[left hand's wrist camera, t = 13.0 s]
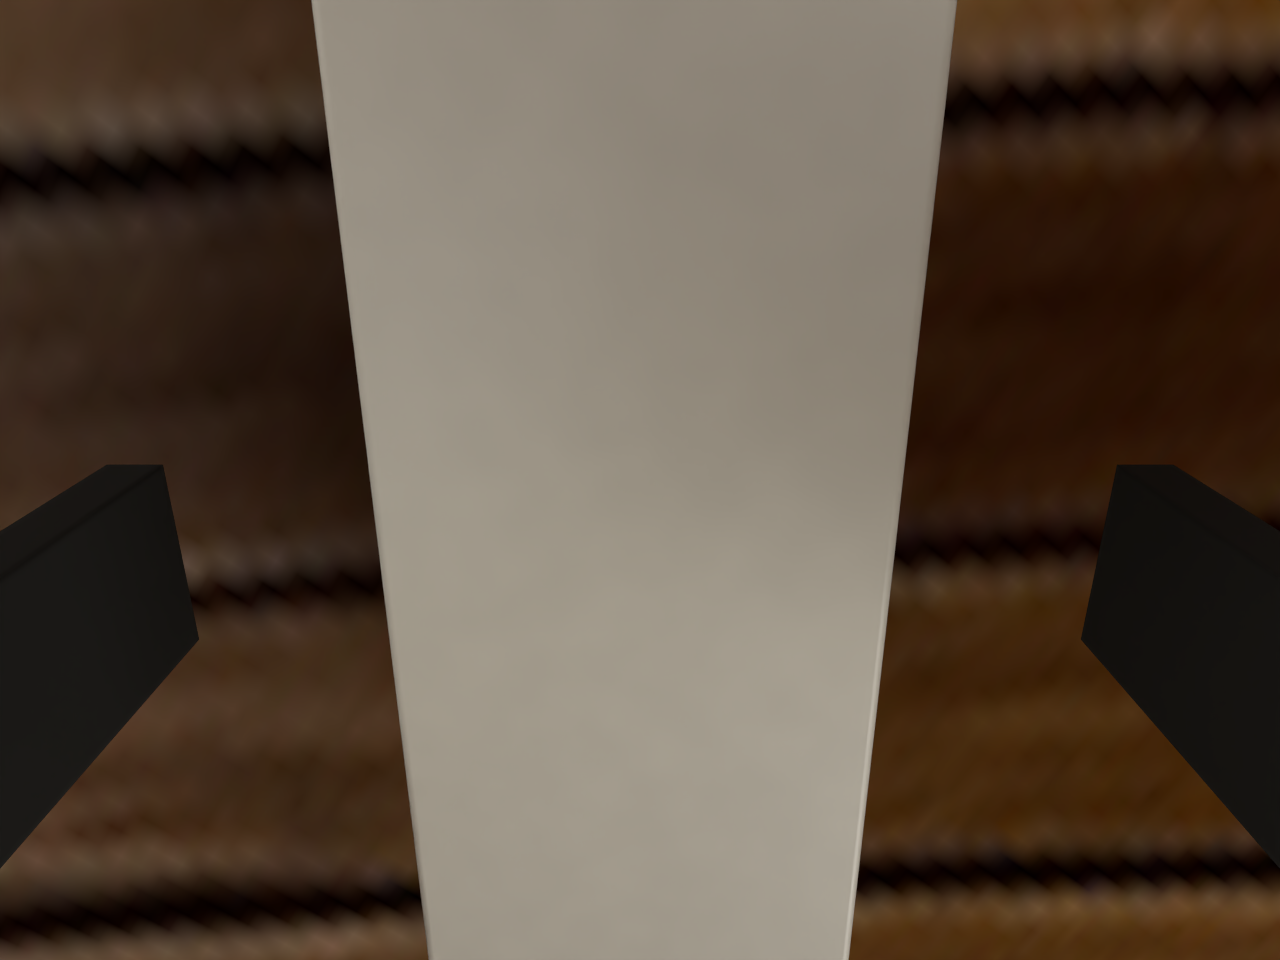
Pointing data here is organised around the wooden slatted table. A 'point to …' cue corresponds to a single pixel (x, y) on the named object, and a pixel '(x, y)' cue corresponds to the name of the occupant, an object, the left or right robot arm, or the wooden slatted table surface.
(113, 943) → the wooden slatted table surface
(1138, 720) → the wooden slatted table surface
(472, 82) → the bar
